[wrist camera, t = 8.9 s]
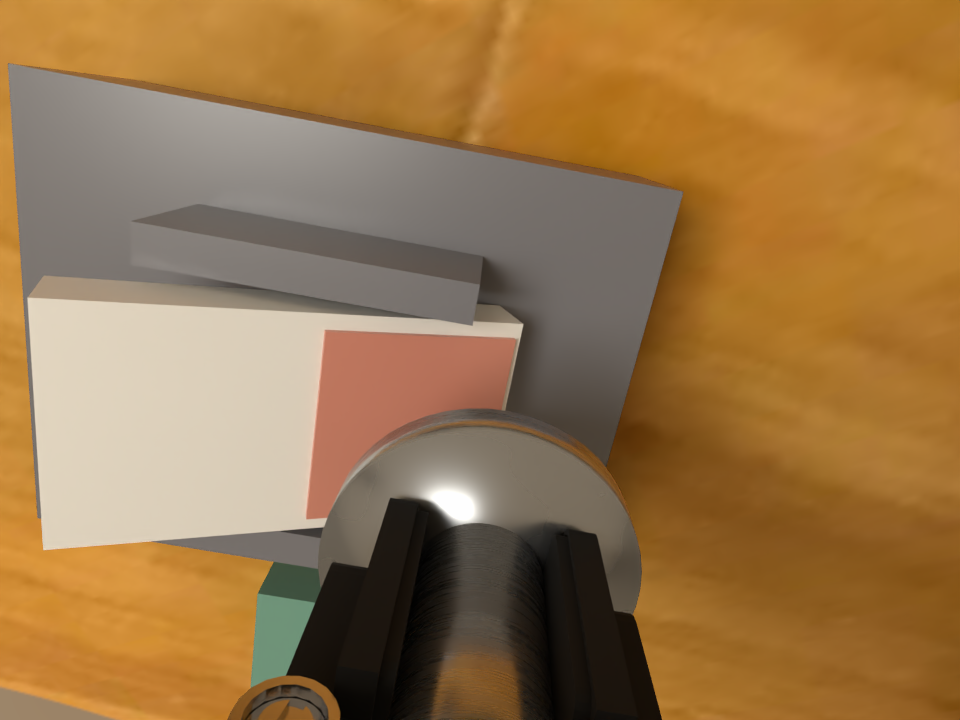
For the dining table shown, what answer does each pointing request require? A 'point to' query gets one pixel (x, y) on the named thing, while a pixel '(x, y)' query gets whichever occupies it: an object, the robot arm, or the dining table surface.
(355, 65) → the dining table surface
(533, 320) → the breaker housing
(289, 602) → the stylus holder
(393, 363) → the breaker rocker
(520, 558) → the metal knob
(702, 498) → the dining table surface
